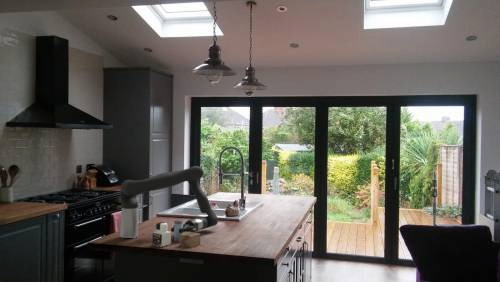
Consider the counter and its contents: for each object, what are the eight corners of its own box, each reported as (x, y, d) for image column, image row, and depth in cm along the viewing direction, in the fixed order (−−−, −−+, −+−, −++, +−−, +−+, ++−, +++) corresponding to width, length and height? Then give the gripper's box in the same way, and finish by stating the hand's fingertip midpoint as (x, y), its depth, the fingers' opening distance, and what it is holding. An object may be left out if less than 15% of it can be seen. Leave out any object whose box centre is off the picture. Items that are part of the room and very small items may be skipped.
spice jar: (171, 240, 239) (172, 220, 239) (177, 238, 244) (178, 219, 244) (179, 241, 237) (179, 221, 237) (184, 240, 241) (185, 220, 241)
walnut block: (179, 245, 228) (179, 234, 228) (188, 242, 235) (188, 231, 235) (191, 247, 224) (191, 236, 224) (200, 244, 231) (200, 233, 231)
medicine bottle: (152, 245, 228) (152, 222, 228) (161, 242, 234) (162, 221, 234) (161, 247, 224) (161, 224, 224) (171, 244, 230) (171, 222, 230)
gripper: (184, 218, 256) (165, 222, 241) (203, 220, 249) (185, 225, 234) (184, 230, 256) (165, 235, 241) (203, 233, 249) (185, 238, 234)
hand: (175, 230), depth 238 cm, fingers closed on spice jar, 5 cm apart
